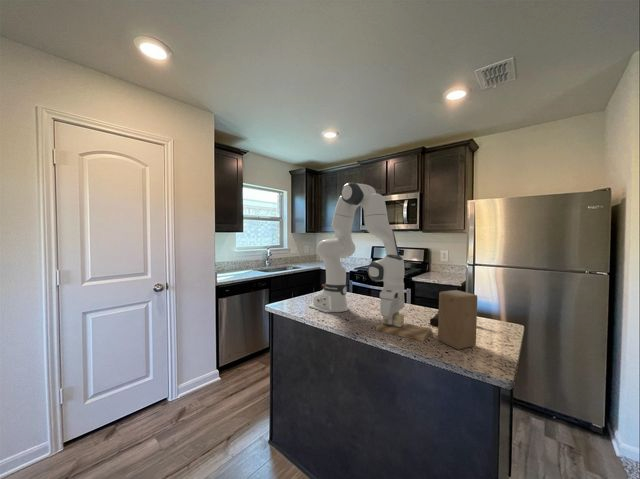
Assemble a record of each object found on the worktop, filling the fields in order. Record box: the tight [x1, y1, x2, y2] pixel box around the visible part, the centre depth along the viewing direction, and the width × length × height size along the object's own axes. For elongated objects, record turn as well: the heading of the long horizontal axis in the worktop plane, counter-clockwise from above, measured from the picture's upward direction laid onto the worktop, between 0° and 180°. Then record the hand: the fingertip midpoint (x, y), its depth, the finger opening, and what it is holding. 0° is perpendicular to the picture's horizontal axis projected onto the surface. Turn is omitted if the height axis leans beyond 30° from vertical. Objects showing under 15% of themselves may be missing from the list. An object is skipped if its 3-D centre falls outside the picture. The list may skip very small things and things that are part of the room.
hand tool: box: [429, 309, 439, 327], centre depth 134 cm, size 19×4×5 cm, turn 142°
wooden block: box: [437, 289, 478, 350], centre depth 106 cm, size 10×10×20 cm
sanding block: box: [382, 313, 405, 329], centre depth 122 cm, size 8×4×5 cm, turn 55°
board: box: [375, 322, 432, 342], centre depth 119 cm, size 20×13×2 cm, turn 54°
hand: (393, 322), depth 122 cm, fingers closed on sanding block, 4 cm apart
